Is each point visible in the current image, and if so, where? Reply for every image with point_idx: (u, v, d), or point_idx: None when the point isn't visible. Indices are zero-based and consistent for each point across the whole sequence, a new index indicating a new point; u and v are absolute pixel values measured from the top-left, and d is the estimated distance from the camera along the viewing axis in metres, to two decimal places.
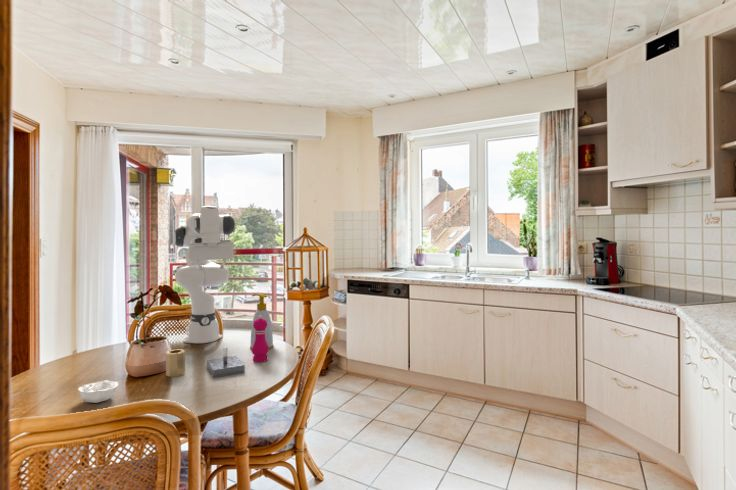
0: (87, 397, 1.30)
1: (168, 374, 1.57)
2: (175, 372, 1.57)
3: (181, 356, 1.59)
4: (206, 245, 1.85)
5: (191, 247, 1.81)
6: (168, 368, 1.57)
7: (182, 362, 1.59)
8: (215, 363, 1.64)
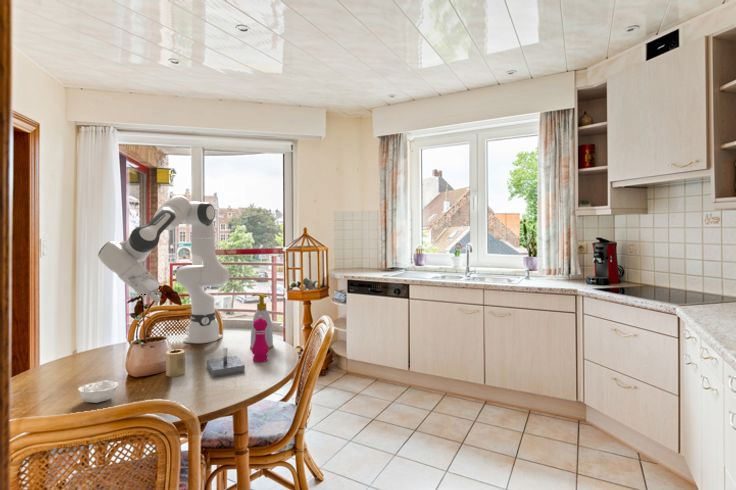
0: (87, 397, 1.30)
1: (168, 374, 1.57)
2: (175, 372, 1.57)
3: (181, 356, 1.59)
4: None
5: None
6: (168, 368, 1.57)
7: (182, 362, 1.59)
8: (215, 363, 1.64)
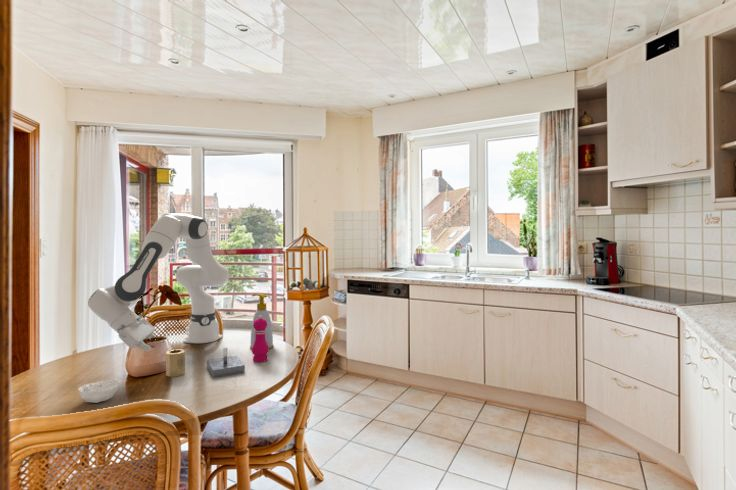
0: (87, 397, 1.30)
1: (168, 374, 1.57)
2: (175, 372, 1.57)
3: (181, 356, 1.59)
4: None
5: None
6: (168, 368, 1.57)
7: (182, 362, 1.59)
8: (215, 363, 1.64)
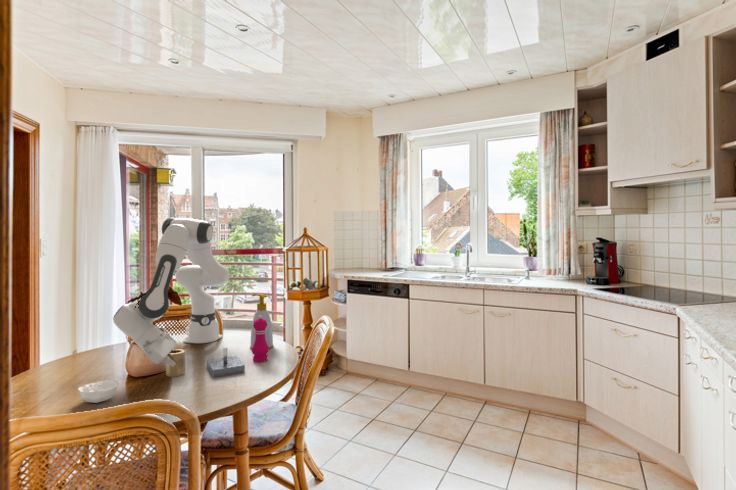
0: (87, 397, 1.30)
1: (168, 374, 1.57)
2: (175, 372, 1.57)
3: (181, 356, 1.59)
4: None
5: None
6: (168, 368, 1.57)
7: (182, 362, 1.59)
8: (215, 363, 1.64)
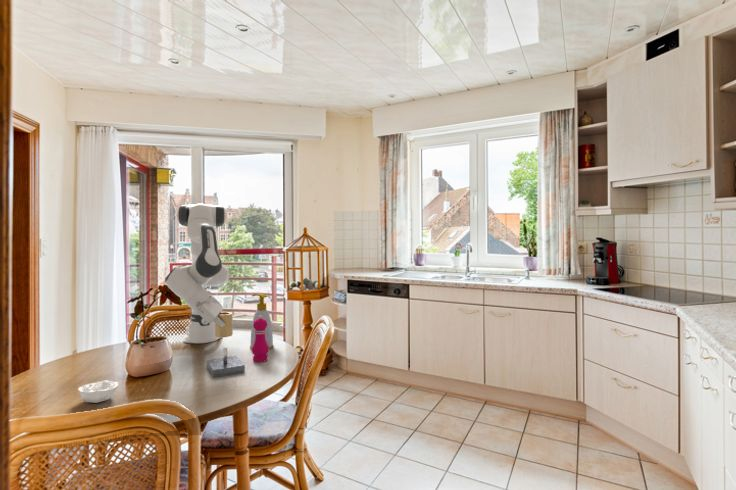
0: (87, 397, 1.30)
1: (217, 335, 1.62)
2: (224, 333, 1.62)
3: (230, 317, 1.63)
4: None
5: None
6: (217, 329, 1.62)
7: (230, 323, 1.64)
8: (215, 363, 1.64)
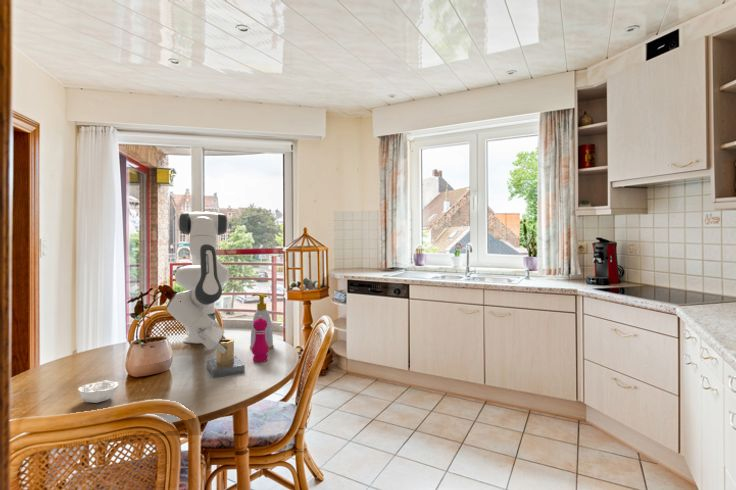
0: (87, 397, 1.30)
1: (219, 362, 1.62)
2: (226, 360, 1.62)
3: (231, 345, 1.64)
4: None
5: None
6: (219, 356, 1.62)
7: (232, 351, 1.64)
8: (215, 363, 1.64)
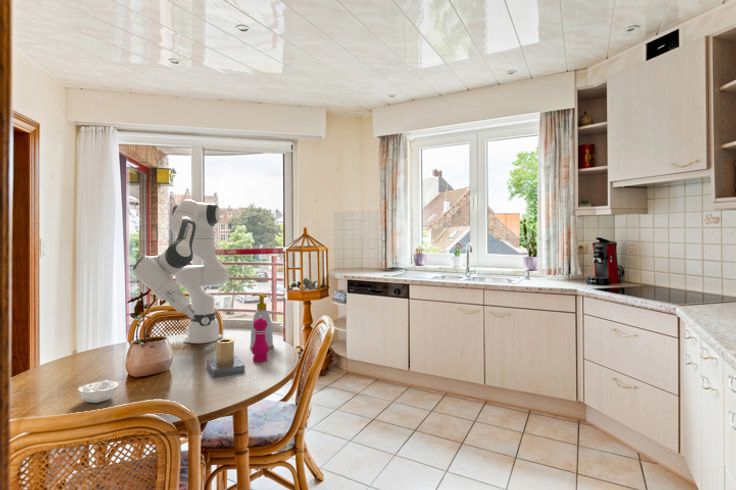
0: (87, 397, 1.30)
1: (219, 362, 1.62)
2: (226, 360, 1.62)
3: (231, 345, 1.64)
4: None
5: None
6: (219, 356, 1.62)
7: (232, 351, 1.64)
8: (215, 363, 1.64)
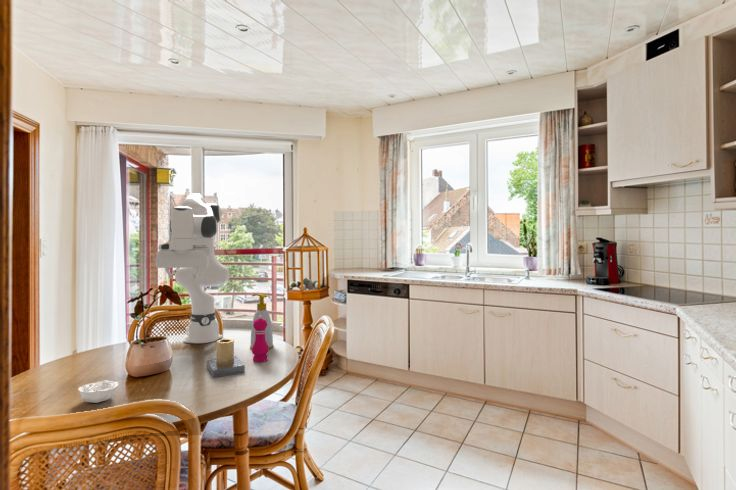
0: (87, 397, 1.30)
1: (219, 362, 1.62)
2: (226, 360, 1.62)
3: (231, 345, 1.64)
4: (175, 252, 1.65)
5: (158, 254, 1.63)
6: (219, 356, 1.62)
7: (232, 351, 1.64)
8: (215, 363, 1.64)
